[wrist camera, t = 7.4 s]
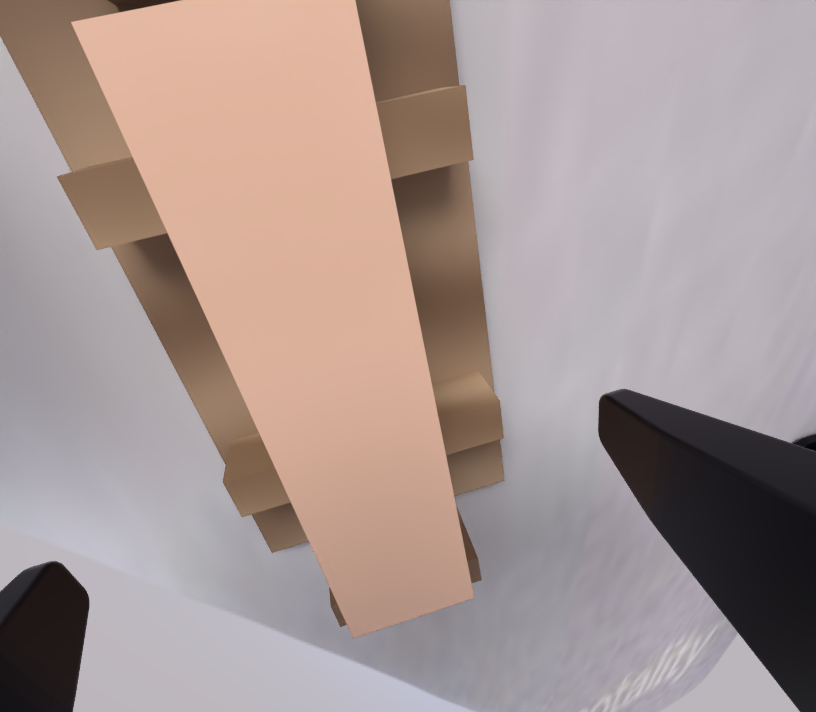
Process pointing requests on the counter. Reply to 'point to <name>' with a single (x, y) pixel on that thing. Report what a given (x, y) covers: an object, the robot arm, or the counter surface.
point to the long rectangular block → (298, 273)
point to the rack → (416, 205)
